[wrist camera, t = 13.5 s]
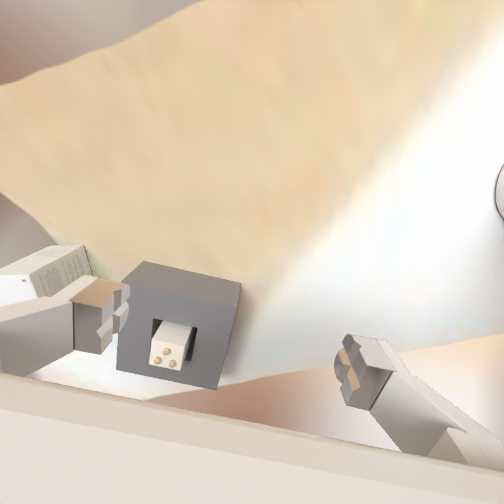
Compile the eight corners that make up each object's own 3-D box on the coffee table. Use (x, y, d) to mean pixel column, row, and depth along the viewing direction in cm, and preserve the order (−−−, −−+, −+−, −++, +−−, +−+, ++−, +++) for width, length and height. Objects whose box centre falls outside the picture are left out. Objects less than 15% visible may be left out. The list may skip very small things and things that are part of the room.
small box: (50, 244, 40) (-18, 274, 31) (84, 244, 40) (27, 273, 30) (65, 289, 43) (7, 329, 34) (97, 289, 43) (49, 329, 33)
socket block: (241, 283, 42) (237, 307, 35) (222, 357, 47) (216, 390, 41) (143, 261, 41) (121, 281, 34) (136, 339, 47) (116, 369, 40)
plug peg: (201, 304, 43) (183, 349, 34) (197, 325, 45) (178, 374, 35) (175, 299, 43) (149, 342, 33) (172, 320, 45) (147, 367, 35)
